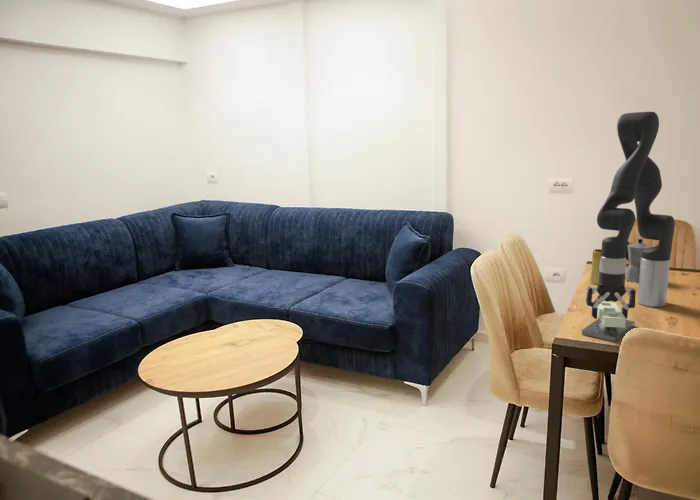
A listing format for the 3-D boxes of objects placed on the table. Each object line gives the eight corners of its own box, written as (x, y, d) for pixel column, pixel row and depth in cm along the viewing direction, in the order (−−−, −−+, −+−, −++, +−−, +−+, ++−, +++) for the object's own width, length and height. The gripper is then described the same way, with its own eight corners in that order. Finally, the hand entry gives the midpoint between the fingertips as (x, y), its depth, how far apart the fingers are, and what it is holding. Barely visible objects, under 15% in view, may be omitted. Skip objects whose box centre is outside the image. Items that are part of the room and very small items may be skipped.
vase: (607, 285, 221) (609, 252, 218) (591, 285, 222) (593, 252, 219) (603, 281, 226) (605, 249, 223) (588, 281, 228) (590, 248, 225)
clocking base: (603, 319, 182) (604, 302, 181) (634, 325, 175) (635, 308, 174) (581, 334, 170) (582, 316, 169) (614, 342, 163) (615, 323, 162)
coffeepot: (658, 283, 221) (662, 240, 217) (639, 285, 219) (642, 242, 215) (631, 274, 236) (634, 234, 232) (613, 276, 234) (615, 236, 230)
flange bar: (595, 310, 180) (595, 301, 179) (614, 310, 178) (614, 302, 178) (603, 326, 165) (604, 317, 164) (625, 327, 163) (625, 318, 163)
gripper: (590, 272, 167) (587, 321, 170) (640, 274, 163) (636, 324, 166) (586, 266, 174) (583, 314, 177) (634, 268, 170) (630, 316, 173)
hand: (609, 318), depth 172 cm, fingers open, 8 cm apart
